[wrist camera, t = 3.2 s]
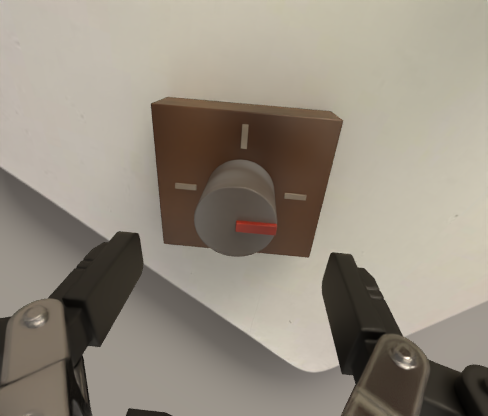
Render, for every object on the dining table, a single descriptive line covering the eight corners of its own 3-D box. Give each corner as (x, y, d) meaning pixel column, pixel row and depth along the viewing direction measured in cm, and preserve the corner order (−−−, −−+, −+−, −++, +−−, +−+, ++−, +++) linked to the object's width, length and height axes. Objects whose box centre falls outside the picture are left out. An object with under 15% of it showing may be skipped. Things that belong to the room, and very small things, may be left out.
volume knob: (207, 216, 19) (193, 256, 15) (207, 156, 16) (191, 184, 13) (269, 222, 19) (271, 264, 15) (278, 162, 16) (283, 193, 13)
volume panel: (174, 222, 23) (162, 245, 20) (166, 96, 18) (149, 103, 15) (303, 234, 22) (309, 259, 20) (331, 111, 18) (344, 120, 15)
